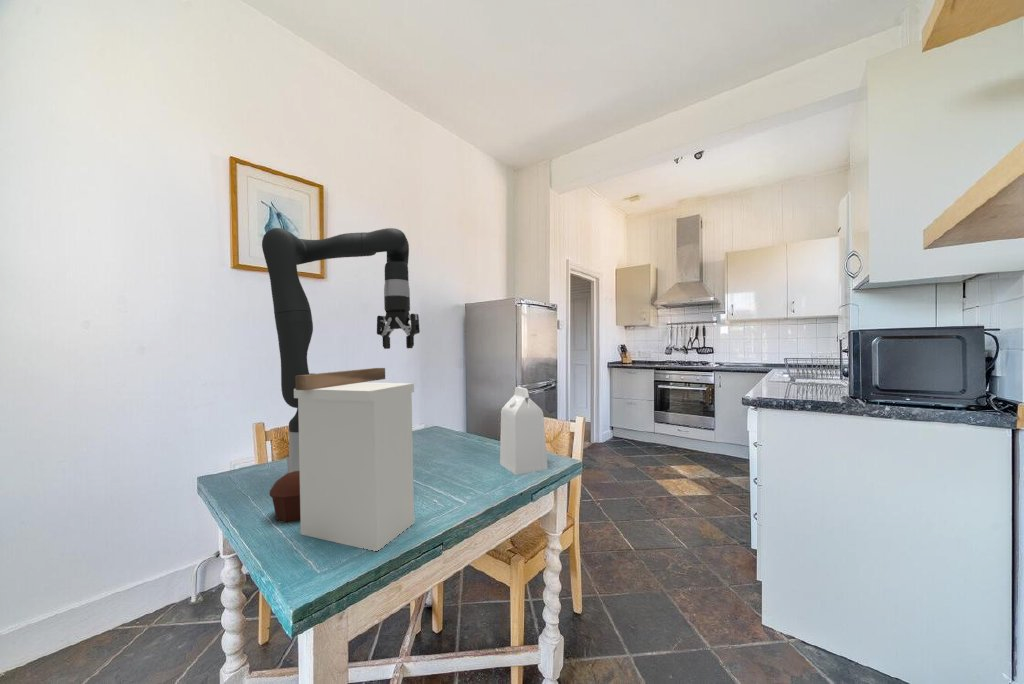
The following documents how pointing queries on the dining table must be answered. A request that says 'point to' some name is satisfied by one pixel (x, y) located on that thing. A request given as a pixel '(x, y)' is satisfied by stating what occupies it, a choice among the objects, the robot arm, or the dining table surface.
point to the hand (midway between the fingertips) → (398, 348)
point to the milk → (522, 435)
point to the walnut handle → (338, 378)
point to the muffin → (287, 497)
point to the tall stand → (356, 463)
